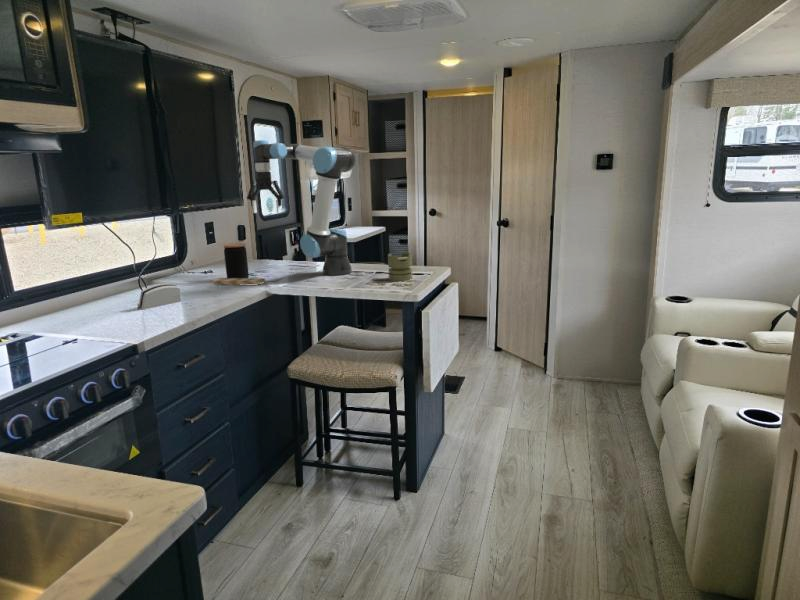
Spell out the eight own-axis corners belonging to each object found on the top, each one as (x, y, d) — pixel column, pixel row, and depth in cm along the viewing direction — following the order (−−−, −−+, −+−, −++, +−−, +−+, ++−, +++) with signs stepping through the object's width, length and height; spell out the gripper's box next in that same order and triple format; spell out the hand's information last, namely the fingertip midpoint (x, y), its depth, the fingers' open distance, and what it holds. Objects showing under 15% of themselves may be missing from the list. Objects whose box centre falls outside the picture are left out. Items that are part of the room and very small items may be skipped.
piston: (385, 253, 257) (407, 252, 260) (386, 278, 259) (407, 275, 263) (391, 256, 246) (414, 255, 249) (392, 282, 249) (415, 279, 252)
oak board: (265, 282, 258) (264, 278, 258) (258, 285, 252) (258, 280, 251) (220, 281, 263) (220, 277, 263) (213, 284, 257) (212, 280, 256)
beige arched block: (175, 299, 227) (176, 279, 223) (181, 304, 224) (182, 283, 220) (136, 308, 214) (137, 286, 210) (142, 313, 212) (143, 291, 208)
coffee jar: (252, 277, 273) (248, 242, 268) (244, 281, 262) (240, 245, 258) (232, 277, 274) (228, 243, 270) (223, 281, 263) (219, 245, 259)
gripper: (288, 170, 276) (291, 211, 281) (244, 172, 281) (248, 212, 286) (282, 170, 269) (285, 212, 274) (237, 172, 274) (242, 213, 279)
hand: (266, 212), depth 280 cm, fingers open, 13 cm apart
